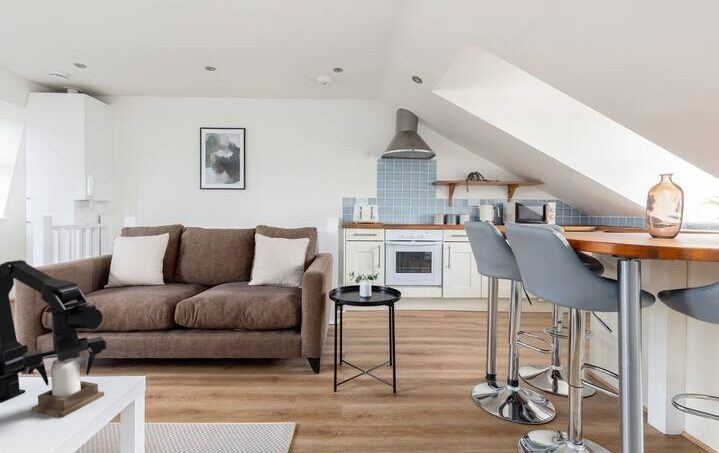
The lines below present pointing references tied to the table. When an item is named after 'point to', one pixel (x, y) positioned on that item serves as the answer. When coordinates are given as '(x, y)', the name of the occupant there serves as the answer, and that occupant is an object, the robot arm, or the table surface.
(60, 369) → the can
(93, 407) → the table surface
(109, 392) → the table surface
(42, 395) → the socket
